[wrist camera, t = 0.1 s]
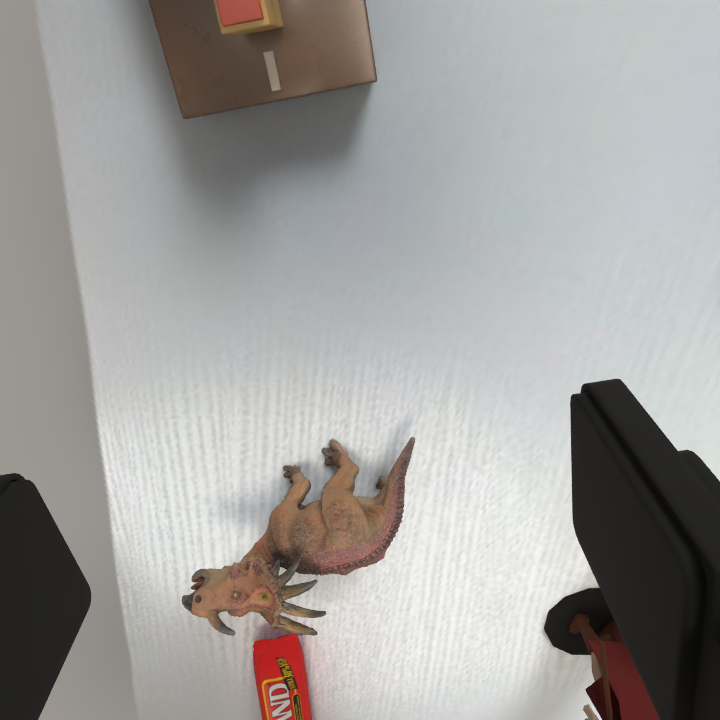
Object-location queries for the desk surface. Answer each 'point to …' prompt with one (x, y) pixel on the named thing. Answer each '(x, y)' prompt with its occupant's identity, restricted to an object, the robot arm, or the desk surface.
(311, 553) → the dinosaur figurine
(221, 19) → the thumb turn
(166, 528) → the desk surface
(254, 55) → the lock plate
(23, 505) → the robot arm
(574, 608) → the figurine
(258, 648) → the candy bar
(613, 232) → the desk surface
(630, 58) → the desk surface
